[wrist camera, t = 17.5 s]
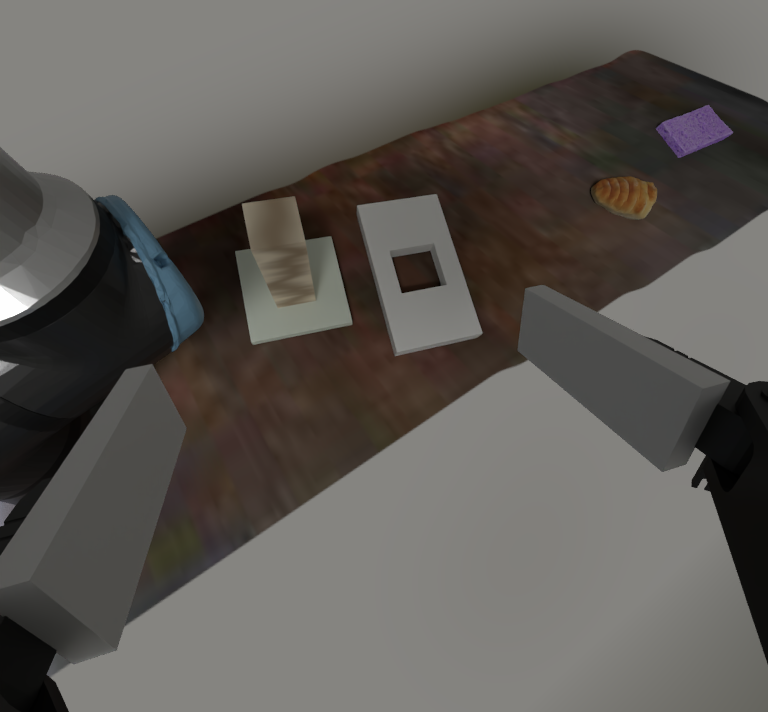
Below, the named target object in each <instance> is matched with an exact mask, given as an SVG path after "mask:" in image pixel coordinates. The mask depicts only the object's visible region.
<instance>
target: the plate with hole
mask: <svg viewBox="0 0 768 712" xmlns="http://www.w3.org/2000/svg"><path fill="white" fill-rule="evenodd" d="M357 218H358V222H359V225H360V229H361V233H362V237H363V240H364V244H365V248H366V251H367V255H368V259H369V263H370V266H371V270H372V274H373V277H374V281H375V285H376V289H377V292H378V296H379V300H380V304H381V307H382V311H383V315H384V318H385V322H386V326H387V330H388V333H389V337H390V341H391V344H392V348H393V352H394V356H398V355H402V354H407V353H411V352H416V351H420V350H425V349H429V348H434V347H438V346H442V345H447V344H451V343H456V342H460V341H465V340H469V339H474V338H477V337H479V336H480V335H481V334H482V330H481V327H480V324H479V321H478V318H477V315H476V312H475V309H474V306H473V303H472V300H471V297H470V294H469V291H468V288H467V284H466V281H465V278H464V275H463V272H462V269H461V266H460V263H459V260H458V257H457V254H456V251H455V248H454V245H453V242H452V239H451V236H450V233H449V230H448V227H447V224H446V221H445V218H444V215H443V212H442V209H441V206H440V203H439V200H438V197H437V194H433V195H426V196H419V197H413V198H406V199H399V200H392V201H385V202H378V203H371V204H364V205H357ZM426 251H431V255H432V258H433V261H434V264H435V267H436V271H437V274H438V277H439V280H440V283H441V286H438V287H433V288H427V289H422V290H417V291H412V292H407V293H401V289H400V286H399V282H398V279H397V275H396V271H395V268H394V264H393V261H392V257H397V256H403V255H409V254H415V253H420V252H426Z"/></svg>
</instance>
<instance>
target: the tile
mask: <svg viewBox="0 0 768 712" xmlns="http://www.w3.org/2000/svg"><path fill="white" fill-rule="evenodd" d="M305 241H306V247H307V253H308V258H309V264H310V270H311V275H312V281H313V287H314V292H315V298H316V301H312V302H307V303H301V304H296V305H291V306H286V307H281V308H277V305H276V303H275V301H274V299H273V297H272V295H271V293H270V290H269V288H268V286H267V284H266V282H265V280H264V277H263V275H262V273H261V271H260V269H259V267H258V265H257V262H256V260H255V258H254V256H253V254H252V252H251V249H246V250H240V251H235V254H236V260H237V265H238V271H239V276H240V282H241V288H242V293H243V299H244V304H245V310H246V316H247V321H248V327H249V332H250V338H251V343H252V344H253V345H255V344H260V343H265V342H270V341H274V340H279V339H284V338H289V337H294V336H299V335H304V334H309V333H314V332H319V331H324V330H329V329H334V328H338V327H343V326H348V325H352V318H351V314H350V310H349V306H348V302H347V298H346V294H345V290H344V286H343V282H342V278H341V274H340V270H339V266H338V261H337V257H336V253H335V249H334V245H333V241H332V237H331V236H329V237H323V238H316V239H310V240H305Z"/></svg>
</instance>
